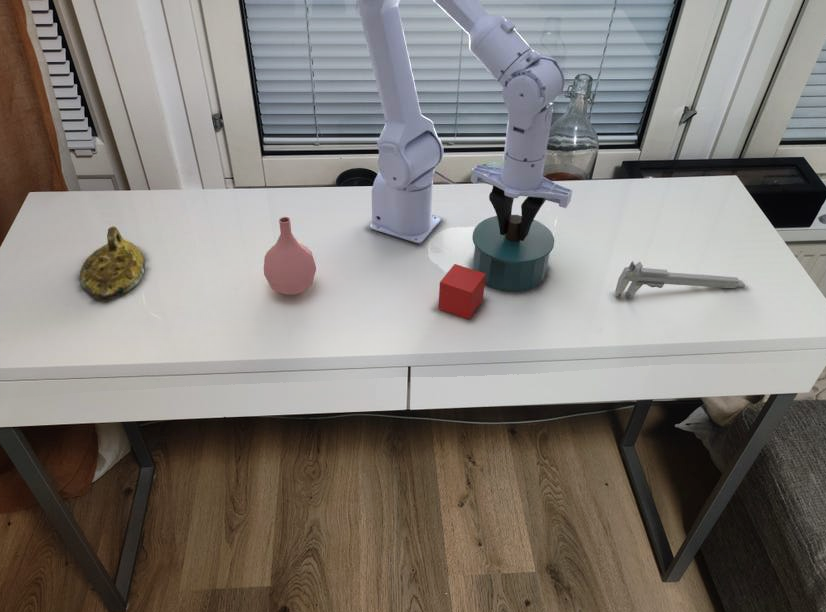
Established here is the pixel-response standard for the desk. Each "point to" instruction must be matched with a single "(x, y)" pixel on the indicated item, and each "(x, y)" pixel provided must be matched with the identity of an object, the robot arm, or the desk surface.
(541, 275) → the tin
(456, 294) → the red block
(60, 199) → the desk surface
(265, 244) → the desk surface
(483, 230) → the lid
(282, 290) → the pink vase
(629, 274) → the caliper
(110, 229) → the seal
